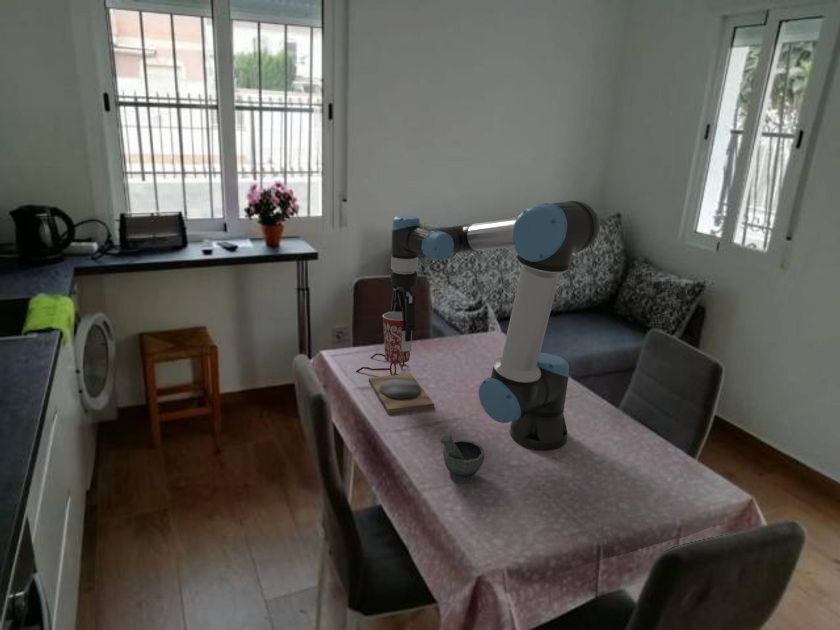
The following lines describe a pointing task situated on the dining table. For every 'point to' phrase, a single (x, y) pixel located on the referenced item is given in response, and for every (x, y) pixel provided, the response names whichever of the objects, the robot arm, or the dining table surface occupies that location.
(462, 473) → the mortar and pestle
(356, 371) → the glasses
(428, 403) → the board
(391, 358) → the mug
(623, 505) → the dining table surface
